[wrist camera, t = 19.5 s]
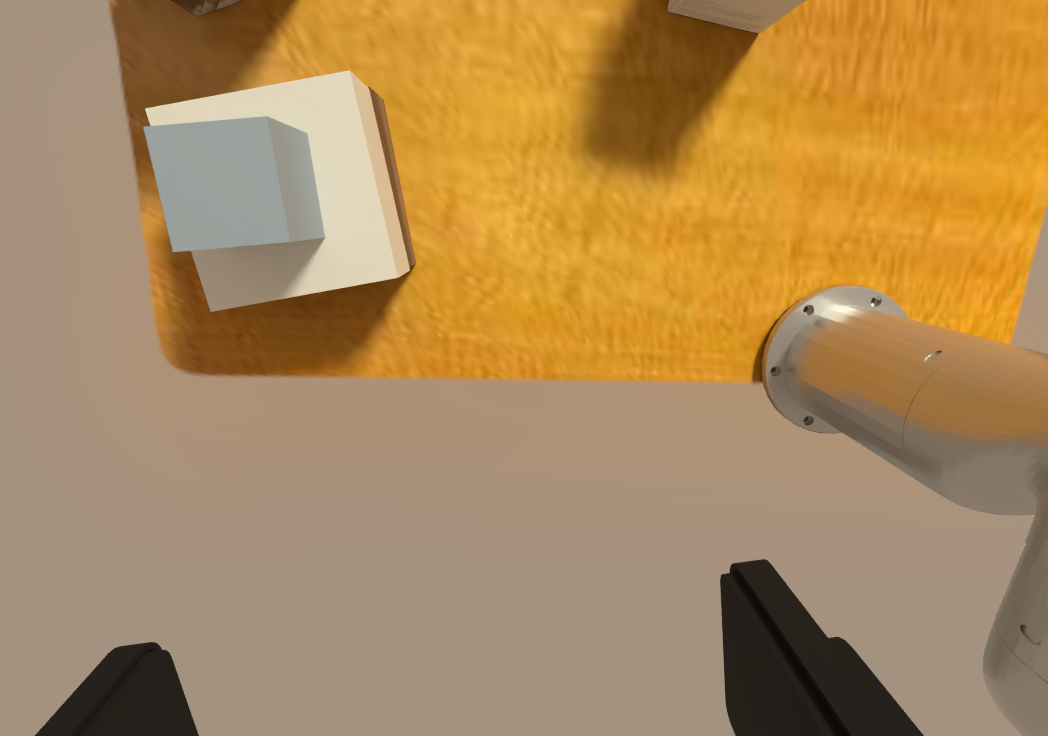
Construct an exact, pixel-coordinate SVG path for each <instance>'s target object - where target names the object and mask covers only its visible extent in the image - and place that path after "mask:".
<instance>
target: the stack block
mask: <svg viewBox="0 0 1048 736" xmlns="http://www.w3.org/2000/svg"><path fill="white" fill-rule="evenodd" d="M143 128H144V132H145V137H146V141H147V145H148V149H149V153H150V158H151V162H152V166H153V170H154V175H155V179H156V183H157V187H158V191H159V196H160V200H161V204H162V208H163V212H164V217H165V221H166V225H167V229H168V234H169V238H170V242H171V246H172V250H173V252H182V251H193V250H204V249H216V248H227V247H238V246H250V245H261V244H272V243H284V242H294V241H302V240H310V239H318V238H325V234H324V228H323V222H322V216H321V210H320V204H319V198H318V192H317V187H316V181H315V175H314V169H313V163H312V157H311V151H310V145H309V139H308V134H307V133H306V132H303V131H301V130H299V129H296V128H294V127H292V126H289V125H287V124H284V123H282V122H280V121H277V120H275V119H273V118H270V117H268V116H263V117H251V118H240V119H228V120H216V121H205V122H193V123H181V124H169V125H158V126H146V127H143Z"/></svg>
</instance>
